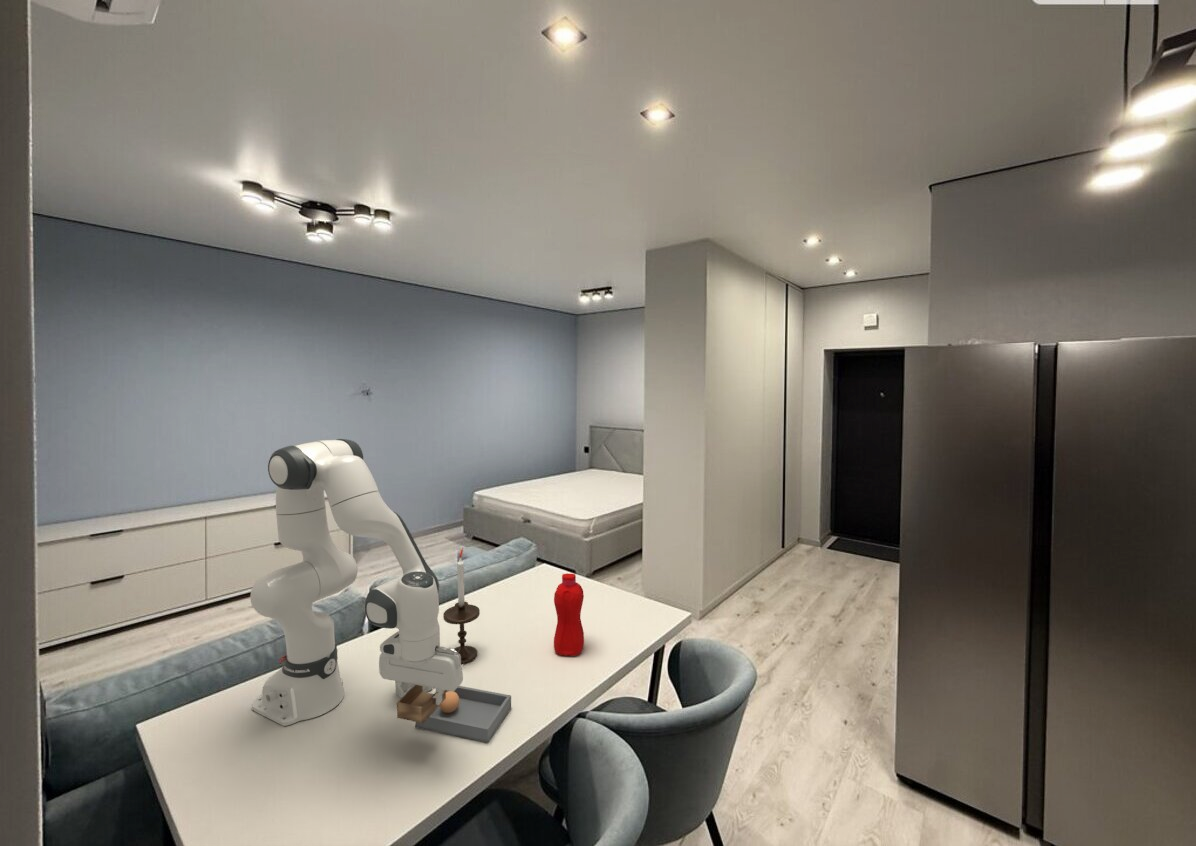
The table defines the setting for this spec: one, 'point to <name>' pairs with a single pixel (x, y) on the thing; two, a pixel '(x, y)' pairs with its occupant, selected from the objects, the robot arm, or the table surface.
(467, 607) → the candlestick
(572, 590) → the water bottle
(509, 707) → the tray
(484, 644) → the table surface
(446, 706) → the ball
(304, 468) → the robot arm
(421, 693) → the small wooden box
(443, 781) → the table surface
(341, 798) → the table surface
